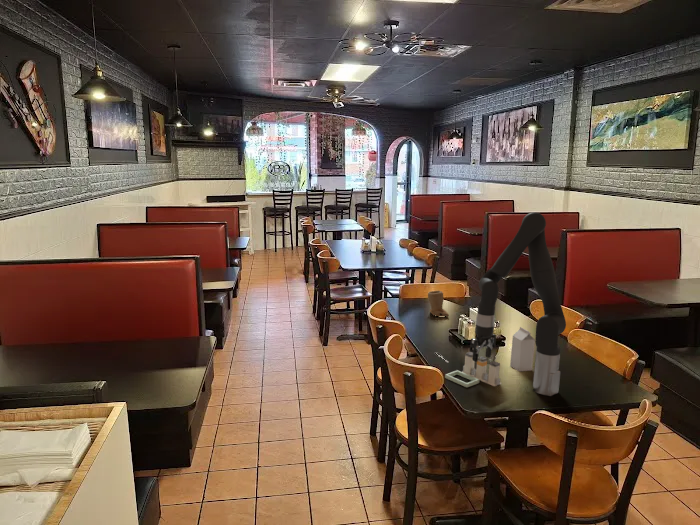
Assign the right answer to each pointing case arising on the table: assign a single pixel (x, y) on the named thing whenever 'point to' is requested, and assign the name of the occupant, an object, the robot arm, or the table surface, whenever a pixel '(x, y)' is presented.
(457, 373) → the tray
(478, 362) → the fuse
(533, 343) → the milk carton
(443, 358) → the butter knife
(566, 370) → the table surface
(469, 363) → the block
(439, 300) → the brown boot
